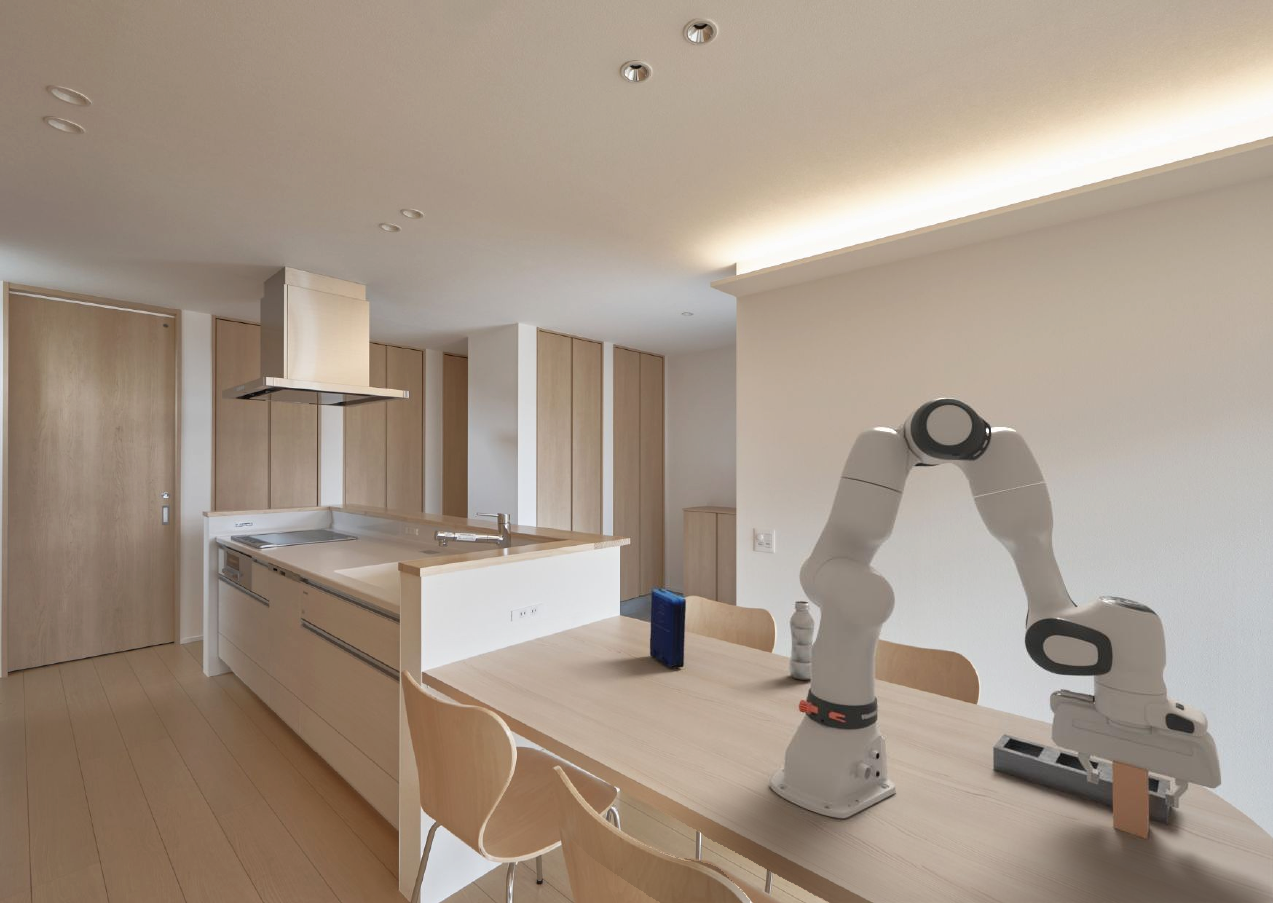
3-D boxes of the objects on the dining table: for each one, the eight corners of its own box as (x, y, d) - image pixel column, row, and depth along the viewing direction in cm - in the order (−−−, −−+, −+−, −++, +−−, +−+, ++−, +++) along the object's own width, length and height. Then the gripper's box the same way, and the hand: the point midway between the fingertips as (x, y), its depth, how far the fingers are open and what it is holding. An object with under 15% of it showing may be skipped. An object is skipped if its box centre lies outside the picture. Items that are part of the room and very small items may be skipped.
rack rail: (1167, 824, 92) (1167, 798, 92) (993, 769, 109) (993, 747, 109) (1170, 804, 98) (1169, 780, 98) (1004, 754, 115) (1004, 734, 115)
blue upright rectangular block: (646, 656, 173) (647, 588, 173) (662, 654, 175) (663, 586, 176) (669, 672, 160) (670, 597, 160) (686, 669, 162) (687, 596, 163)
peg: (1147, 838, 89) (1146, 771, 89) (1113, 827, 92) (1112, 761, 92) (1149, 827, 92) (1148, 762, 92) (1116, 816, 94) (1115, 753, 95)
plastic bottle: (809, 674, 160) (809, 599, 160) (818, 682, 153) (818, 605, 154) (786, 673, 160) (786, 599, 160) (793, 682, 153) (793, 605, 154)
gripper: (1046, 691, 97) (1047, 776, 97) (1220, 729, 83) (1222, 829, 83) (1053, 681, 102) (1054, 762, 101) (1219, 716, 88) (1221, 811, 87)
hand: (1131, 793), depth 92 cm, fingers open, 8 cm apart
